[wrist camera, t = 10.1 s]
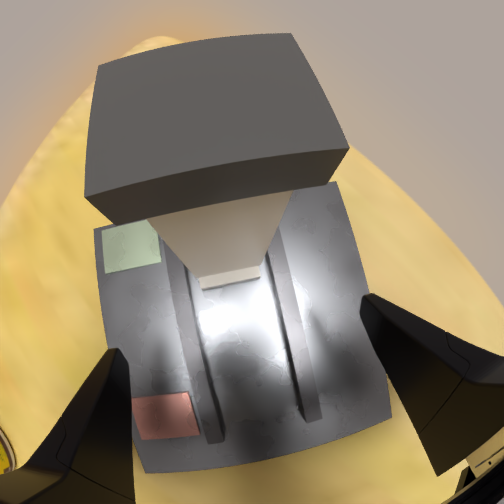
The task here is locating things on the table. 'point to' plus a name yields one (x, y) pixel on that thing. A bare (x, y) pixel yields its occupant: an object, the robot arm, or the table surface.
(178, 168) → the handle
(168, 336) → the box
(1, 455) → the supplement bottle
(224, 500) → the table surface
